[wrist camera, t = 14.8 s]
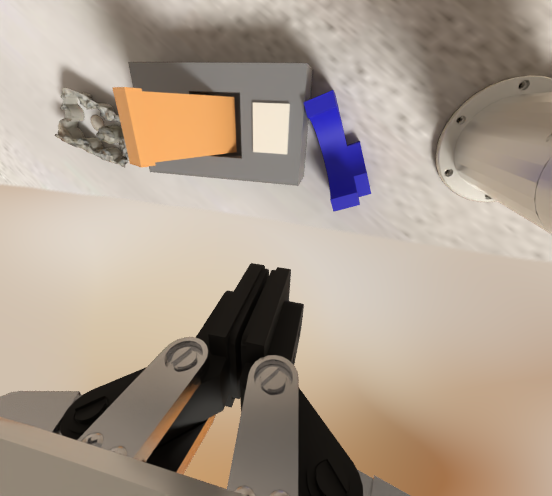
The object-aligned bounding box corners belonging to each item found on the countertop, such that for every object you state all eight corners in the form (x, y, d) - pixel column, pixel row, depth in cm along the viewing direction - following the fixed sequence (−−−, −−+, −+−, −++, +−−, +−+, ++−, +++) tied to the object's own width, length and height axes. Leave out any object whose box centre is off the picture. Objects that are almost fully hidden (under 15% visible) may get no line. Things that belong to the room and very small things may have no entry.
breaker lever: (236, 95, 29) (124, 87, 21) (238, 154, 32) (141, 167, 24) (223, 94, 31) (112, 87, 23) (226, 151, 34) (130, 163, 26)
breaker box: (312, 69, 29) (306, 62, 25) (303, 176, 35) (297, 186, 31) (156, 68, 33) (126, 61, 29) (171, 164, 39) (148, 172, 34)
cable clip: (369, 187, 34) (373, 201, 29) (335, 196, 36) (333, 211, 31) (347, 87, 30) (348, 83, 24) (310, 103, 31) (303, 102, 26)
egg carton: (76, 133, 40) (51, 136, 37) (79, 82, 37) (50, 79, 33) (136, 168, 41) (117, 174, 37) (145, 122, 37) (124, 123, 33)
